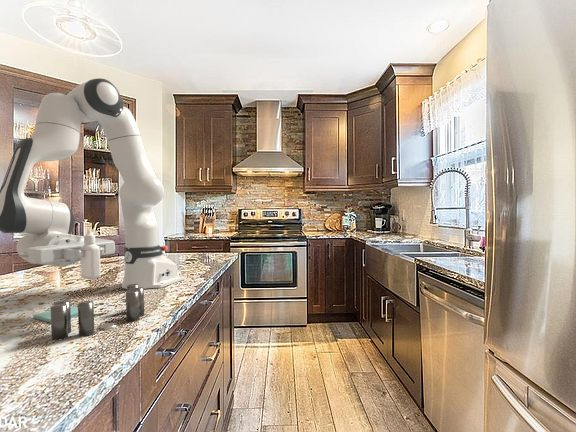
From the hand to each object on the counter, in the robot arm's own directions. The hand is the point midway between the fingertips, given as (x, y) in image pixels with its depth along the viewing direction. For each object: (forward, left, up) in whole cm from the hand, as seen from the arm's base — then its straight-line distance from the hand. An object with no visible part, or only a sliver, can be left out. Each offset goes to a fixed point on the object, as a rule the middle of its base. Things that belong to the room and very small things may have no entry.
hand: (92, 252), depth 85 cm
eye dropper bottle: (0, -1, -6) cm, 7 cm away
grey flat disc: (+2, +9, -17) cm, 19 cm away
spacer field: (+1, +6, -17) cm, 18 cm away
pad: (+2, -11, -17) cm, 20 cm away
